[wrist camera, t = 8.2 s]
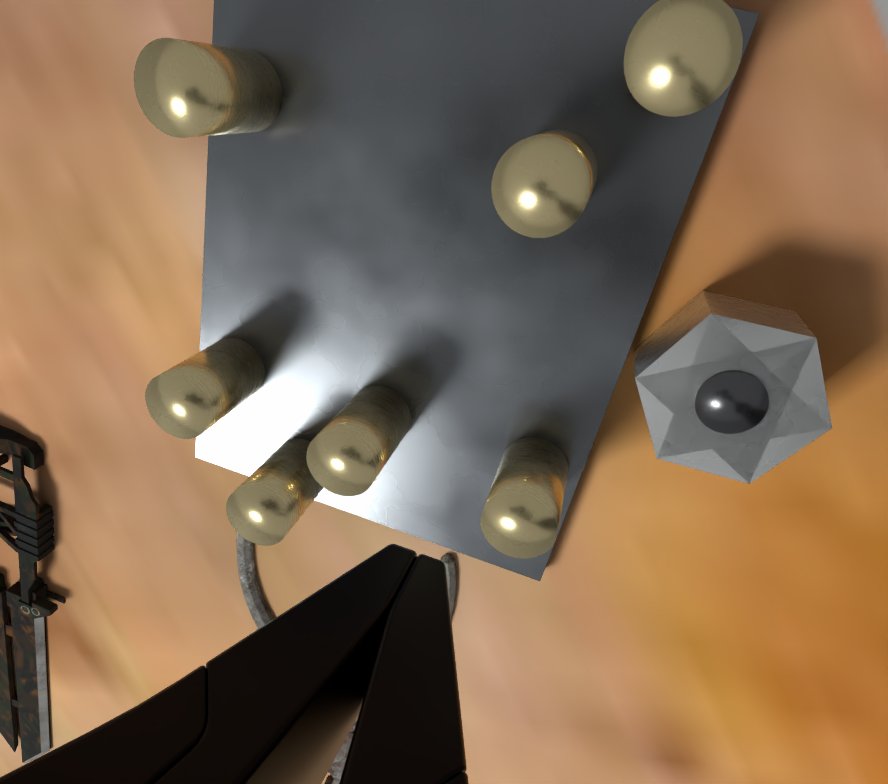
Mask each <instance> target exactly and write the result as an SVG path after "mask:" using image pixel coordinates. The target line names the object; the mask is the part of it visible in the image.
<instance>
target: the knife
mask: <svg viewBox="0 0 888 784" xmlns="http://www.w3.org/2000/svg"><path fill="white" fill-rule="evenodd" d="M0 453H3V454H2V455H0V476H2V477H5V478H7V479H9V480H12V481H14V493H15V507H13V506H11V505H8V504H6V503H4V502H2V501H0V517H1V518H0V537H1V538H2V539H3V540H4V541H5V542H6V543H7V544H8V545H9V546H11V547H12V548H13V549H14V550H15V551H16V552H18V554H19V569H20V582H19V581H18V582H16V583H15V584H14V585H13V586H11V587H10V588H9V589H7V590H6V589H5V580H4V575H3V574H1V573H0V733H1V734H2V735H3V737H4V738H5V740H6V741H7V742H8V744H9V745H10V746H11V748H12V749H13V751H14V752H15V751H16V748H17V746H18V733H17V720H16V708H15V707H17V708H18V711H19V723H20V736H21V749H22V762H23V763H28V762H30V761H32V760H33V759H35V758H37V757H39V756H41V755H43V754H45V753H46V752H48V751H50V744H49V721H48V698H47V675H46V652H45V629H44V617H46V616H50V615H51V614H53V613H54V612H55V611H56V610H57V609H58V605H57V604H55V603H53V602H51V601H49V600H48V597H51V598H53V599H55V600H57V601H59V602H62V603H65V598H64V597H62V596H60V595H58V594H56V593H53V592H51V591H49V590H47V584H45V583H43V579H42V578H40V577H38V576H37V561H40V560H41V559H42V558H44V557H45V556H46V555H47V554H49V553H50V552H51V551H52V550H54V549H55V547H54V544H53V541H54V536H53V533H54V528H53V524H54V520H53V519H52V516H53V511H52V506H51V505H48V504H46V505H45V506H43V507H42V508H40V509H39V504H38V502H37V501H36V499H35V498H34V496H33V493H32V490H31V487H30V484H29V483H28V481H27V480H26V478H25V477H24V465H25V466H27V467H29V468H32V469H34V470H35V469H37V468H38V467H40V466H42V465H43V464H44V456H43V450H42V449H41V447H40V446H39V445H38V443H37V442H35V441H33V440H30V439H28V438H26V437H25V436H23V435H22V434H20V433H18V432H15V431H13V430H10V429H8V428H6V427H3V426H1V425H0ZM5 454H11V455H12V463H13V471H10V470H8V469H5V468H3V467H1V465H3V464H5V463H7V462H8V456H7V455H5ZM12 516H13V517H15V518H16V520H15V519H13V518H12ZM10 535H12V536H17V538H16V539H14V538H13V537H12V536H10ZM6 596H7V597H6ZM7 606H8V607H10V608H11V621H12V624H10V623H9V622H8V610H7ZM10 636H11V637H13V646H14V659H15V672H16V685H17V698H18V699H17V698H15V696H14V683H13V671H12V659H11V646H10Z"/></svg>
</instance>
